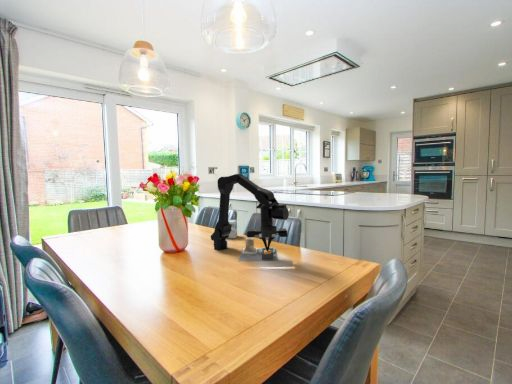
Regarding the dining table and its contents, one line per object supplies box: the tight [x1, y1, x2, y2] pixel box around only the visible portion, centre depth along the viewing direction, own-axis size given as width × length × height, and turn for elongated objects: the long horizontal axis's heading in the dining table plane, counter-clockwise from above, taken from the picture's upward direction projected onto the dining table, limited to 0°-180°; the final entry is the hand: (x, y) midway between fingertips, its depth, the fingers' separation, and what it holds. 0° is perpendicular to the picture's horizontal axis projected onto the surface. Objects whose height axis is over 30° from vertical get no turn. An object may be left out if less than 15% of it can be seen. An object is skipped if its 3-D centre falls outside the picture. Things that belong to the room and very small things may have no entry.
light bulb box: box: [227, 219, 238, 239], centre depth 168 cm, size 11×7×11 cm, turn 84°
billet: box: [245, 236, 255, 252], centre depth 133 cm, size 4×4×7 cm
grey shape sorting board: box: [238, 247, 278, 262], centre depth 128 cm, size 18×18×4 cm
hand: (267, 250), depth 123 cm, fingers closed, pressing on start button
